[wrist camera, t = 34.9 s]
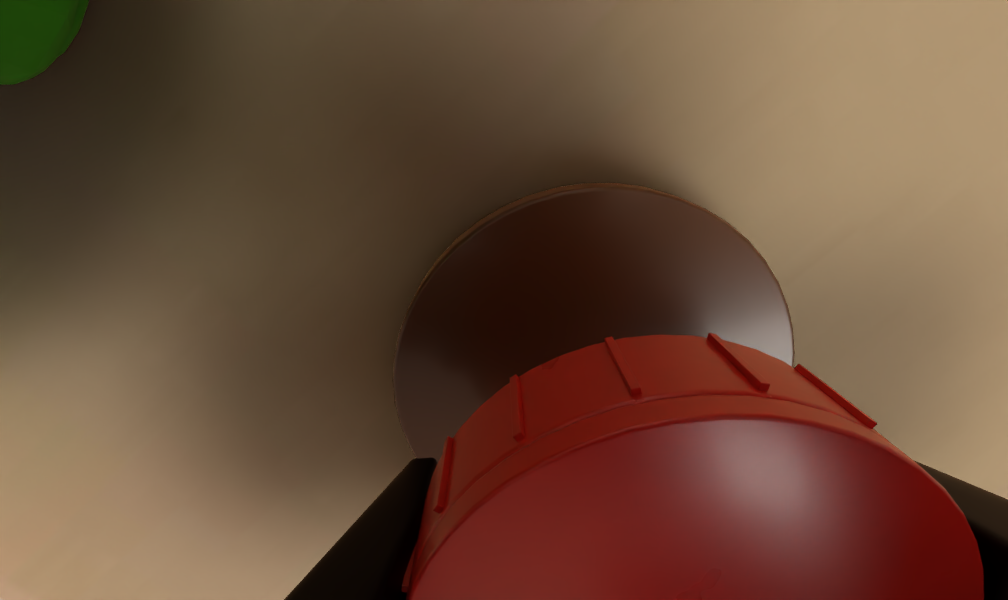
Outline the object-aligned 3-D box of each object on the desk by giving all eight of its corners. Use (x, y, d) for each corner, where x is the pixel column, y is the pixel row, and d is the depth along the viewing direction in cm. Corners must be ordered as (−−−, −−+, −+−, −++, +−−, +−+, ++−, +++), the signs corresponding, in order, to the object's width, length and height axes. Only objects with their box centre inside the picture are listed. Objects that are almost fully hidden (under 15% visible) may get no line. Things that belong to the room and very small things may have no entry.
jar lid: (721, 707, 9) (778, 855, 7) (371, 622, 8) (334, 767, 6) (959, 419, 7) (1130, 526, 5) (515, 259, 6) (522, 316, 4)
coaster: (753, 506, 13) (769, 530, 12) (425, 530, 13) (421, 555, 12) (801, 166, 10) (828, 168, 9) (368, 198, 10) (358, 204, 9)
